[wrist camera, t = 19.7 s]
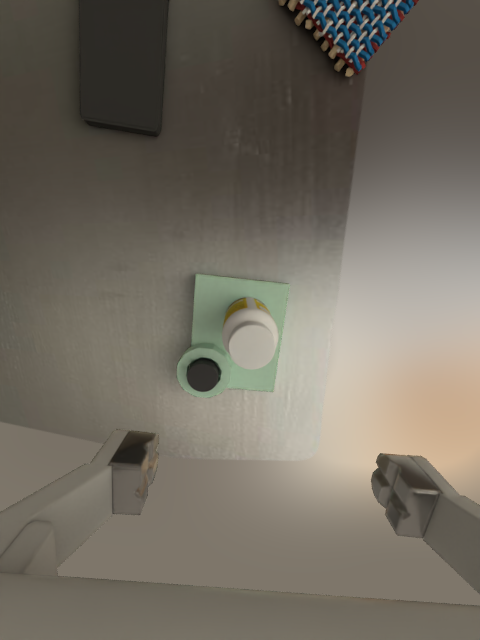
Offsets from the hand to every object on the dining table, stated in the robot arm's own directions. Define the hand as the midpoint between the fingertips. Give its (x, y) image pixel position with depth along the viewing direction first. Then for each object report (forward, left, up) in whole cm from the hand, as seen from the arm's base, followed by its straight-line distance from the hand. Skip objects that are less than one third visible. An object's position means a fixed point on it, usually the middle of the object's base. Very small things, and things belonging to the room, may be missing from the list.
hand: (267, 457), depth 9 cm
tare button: (-4, -7, -20) cm, 22 cm away
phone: (-15, +18, -22) cm, 33 cm away
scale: (-1, -3, -23) cm, 23 cm away
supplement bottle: (0, 0, -22) cm, 22 cm away
